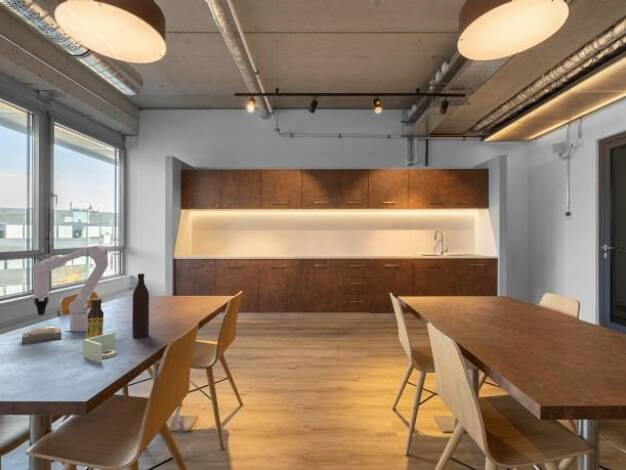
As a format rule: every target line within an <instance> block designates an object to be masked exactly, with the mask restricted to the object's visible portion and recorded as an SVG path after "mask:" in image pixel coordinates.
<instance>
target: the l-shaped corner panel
mask: <svg viewBox="0 0 626 470" xmlns="http://www.w3.org/2000/svg"><path fill="white" fill-rule="evenodd" d="M82 344H83V348H82V349H83V350H82V351H83V354H82V357H83V358H85V359H88V360H90V359H91V360H90V361H93V360H94V361H93V362H96V363H98V362H99V364H100V362H101V363H102V362H103V361H102V359H104V360H105V359H110V358H113V357H115V355H117V351H116V332H115V331H114V332H113V331H112V332H110V333H105V334H103V335H100V336H96V337H92V338H88V339H86V338H84V339H83V343H82Z"/></svg>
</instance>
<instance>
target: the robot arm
mask: <svg viewBox="0 0 626 470" xmlns="http://www.w3.org/2000/svg"><path fill="white" fill-rule="evenodd" d="M108 253H109V252H108V250H107V249H106V247H105V246H104V245H101V244H100V245H93V246H89V247H84V248H81V249H78V250H76V251H74V252H71V253H69V254H66V255H61V254H59V255H58V254H55V255H53V257H50V258H44V259H43V261H37V262H36V263H34V264H33V265H32V268H31V270H32V272H33V273H34V274H33V275H34V277H33V285H34V286H33V295H32V294H31V295H30V298H34V299H33V300H34V301H33V303H34V305H35V307H36V309H37V314H38V316H44V315H45V313H46V309H47V305H48V303H49V301H50V300H49V297H50V271H54V270H56V269H58V268H62V267H64V266H66V264H67V263H68V262H70V261H73V260H76V259H78V258H81V257H86V258H87V257H90V258H91V259H92V260H93V261H94V264H95V267H94V268H93V270H92V272H91V273H90V275H89V276H88V278H87V280H86V282H85V283H84V285H83V286H82V288H81V290H80V292H79V293H78V295H77V296H76V297H75V298H74V299H73V301H71V302H70V303H69V304H68V310H69V329H67V330H65V332H78V333H79V332H87V319H88V313H89V311H88V309H87V307H88V306H89V300H91V295H92V294H93V292H94V290H95V288H96V287H97V285H98V283H99V282H100V280H101V278H102V277H103V275H104V273H105V272H106V270H107V268H108V266H109V257H108V256H109V254H108Z"/></svg>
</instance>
